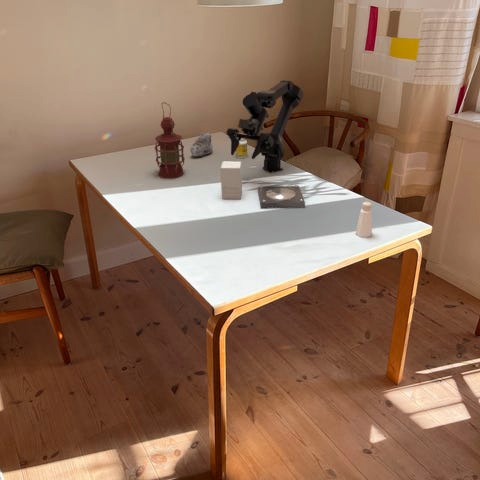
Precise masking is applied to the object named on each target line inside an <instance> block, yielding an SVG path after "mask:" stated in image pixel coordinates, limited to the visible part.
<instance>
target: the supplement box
mask: <svg viewBox="0 0 480 480" xmlns="http://www.w3.org/2000/svg"><path fill="white" fill-rule="evenodd" d="M242 173H243V171H242V161H228V160H227V161H224V160H223V161H222V163H221V165H220V183H221V184H220V185H221V187H220V189H221V199H222V200H241V198H242V195H243V180H242V179H243V178H242V177H243V174H242Z"/></svg>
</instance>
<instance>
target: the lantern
mask: <svg viewBox="0 0 480 480" xmlns="http://www.w3.org/2000/svg"><path fill="white" fill-rule="evenodd" d="M163 104H165V105H167V106H168V107H169V108H170V109H169V116H165V111H164V106H163ZM161 109H162V114H163V115H162V120H161V121H160V125H159V126H160V128H161V129H162V131H163V133H161V134H159V135H157V136H156V137H155V141H156V143H155V146H154V150H155V153H156V154H155V155H156V157H155V162H156V164H157V166H158V168H159V172H158V177H161V178H163V179H178V178H180V177H182V176H183V175H184V174H185V173H184V169H183V166H184V165H185V155H184V148H185V146H184V145H183V142H182V141H181V140H182V139H183V136H181V135H180V134H177V133H175V132H174V128H175V125H176V124H175V121H174V120H173V118H172V117H171V115H172V107H171V105H170V104H169V103H167V102H165V101H163V102H162V103H161ZM179 146H180V147H179ZM158 147H159V149H158ZM180 151H181V152H180ZM158 152H159V153H158ZM180 153H181V154H180ZM159 154H160V156H159ZM180 158H181V160H180ZM159 159H160V161H159Z"/></svg>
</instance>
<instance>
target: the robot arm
mask: <svg viewBox="0 0 480 480" xmlns="http://www.w3.org/2000/svg"><path fill="white" fill-rule="evenodd" d="M279 98H281V101H282V106H281V107H280V110H279V112H278V114H277V117H276V119H275V122H274V124H273V126H272V129H271V130H270V132H266V133H265V132H261V131H263V130H264V127H263V126H264V123H265V120H266V119H268V118H269V116H270V115H269V113H268V110H266V109H272V108H273V107H274V106H275V105H277V104H276V103H277V100H278V99H279ZM303 99H304V92H303V90H302V89H301V87H300V86H298V85H297V84H295V83H294V82H293V81H292V80H288V79H287V80H285V79H283V80H279V82H278V83H277V84H276V85H274V86H273V87H271V88H269V89H268V90H267V89H266V90H260V91H258V92H256V91H251V92H250V93H249V94H247V95H246V96H244V98H243V99H242V105H243V107H244V109H246V111H247V112H248V114H250V116H249V118H247V119H244V118H243V119H242V118H239V121H238V125H237V128H240V129H241V131H242V132H240V131H239V130H238V129H237V128H234V127H229V128H227V130H226V132H225V134H226V135H227V137H228V138H229V139H230V142H231V144H230V154H231V156H234V154H236V149H237V147H238V145H239V143H240V142H239V141H240V140H241V138H243V139H245V140H249V141H255V142H256V146H255V147H254V150H253V152H252V154H251V159H252V160H254V159H256V157H258V156H259V155H260V154H261V156H264V159H263V167H262V169H263V170H264V171H266V172H268V173H276V172H279V171H284V170H283V168H282V167H281V164H282V163H281V161H282V158H284V156H285V149H284V147H283V141H282V136H283V135H284V132H285V129H286V126H287V125H288V121H290V117H291V114H292V113H293V110H294V109H295V108H297V107H298V106H299V105H300V104H301V102H302V100H303Z"/></svg>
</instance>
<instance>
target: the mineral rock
mask: <svg viewBox="0 0 480 480" xmlns="http://www.w3.org/2000/svg"><path fill="white" fill-rule="evenodd" d="M213 147H214V146H213V145H212V135H211V133H209V132H206V133H204V132H201V134H199V136H198V138H197V139H196V140H195V141H194V142H193V144H192V145H191V147H190V149H189V150H190V153H191V156H193V157H202V156H205V155H207V154H211V153H213V152H214V150H213V149H214V148H213Z"/></svg>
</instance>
